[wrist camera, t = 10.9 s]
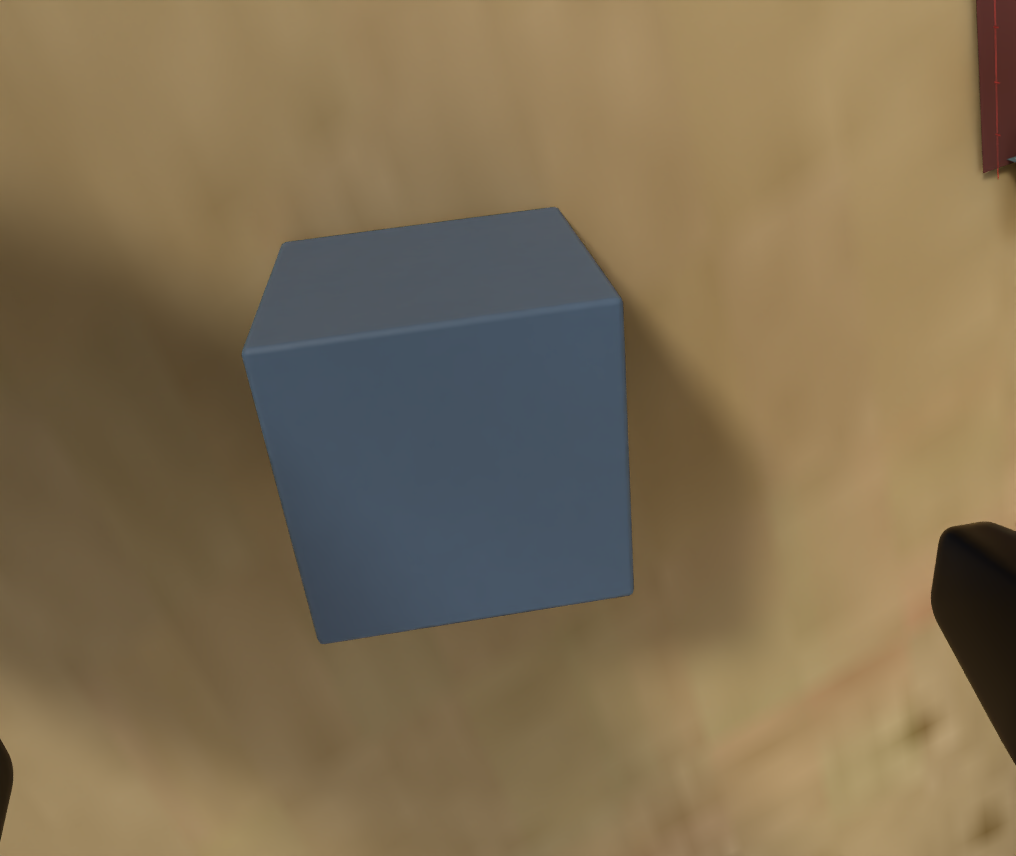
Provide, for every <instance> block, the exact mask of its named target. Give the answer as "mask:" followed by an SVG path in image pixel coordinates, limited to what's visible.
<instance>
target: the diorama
mask: <svg viewBox="0 0 1016 856" xmlns="http://www.w3.org/2000/svg"><path fill="white" fill-rule="evenodd" d="M976 3H977V28H978V53H979V79H980V104H981V130H982V155H983V173H985V172H988V171H991V170H994V169H997V179H999V169H998V168H999V167H1002V166H1005V165H1008V164H1011V163H1014V162H1016V0H976Z"/></svg>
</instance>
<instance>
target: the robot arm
mask: <svg viewBox="0 0 1016 856" xmlns="http://www.w3.org/2000/svg"><path fill="white" fill-rule="evenodd" d="M931 605H932V609H933V613H934V616H935V619H936V621H937V623H938V625H939V627H940V629H941V630H942V632H943V634H944V636H945V638H946V640H947V641H948V643H949V645H950V647H951V649H952V651H953V653H954V654H955V656H956V658H957V660H958V662H959V664H960V665H961V667H962V669H963V671H964V673H965V675H966V677H967V678H968V680H969V682H970V684H971V686H972V688H973V689H974V691H975V693H976V695H977V697H978V699H979V701H980V702H981V704H982V706H983V708H984V710H985V712H986V713H987V715H988V717H989V719H990V721H991V723H992V724H993V726H994V728H995V730H996V732H997V734H998V736H999V737H1000V739H1001V741H1002V743H1003V744H1004V746H1005V748H1006V749H1007V751H1008V753H1009V755H1010V756H1011V758H1012V760H1013V762H1014V763H1015V765H1016V531H1013V530H1011V529H1008V528H1006V527H1003V526H1001V525H998V524H995V523H992V522H977V523H971V524H965V525H959V526H953V527H950V528H948V529H946V530H945V531H944V532H943V533H942V535H941V537H940V540H939V544H938V550H937V557H936V564H935V570H934V577H933V584H932V590H931ZM12 785H13V766H12V762H11V758H10V756H9V754H8V752H7V750H6V748H5V746H4V745H3V743H2V741H1V739H0V840H1V835H2V831H3V826H4V822H5V817H6V813H7V808H8V804H9V799H10V795H11V790H12Z"/></svg>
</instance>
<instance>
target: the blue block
mask: <svg viewBox="0 0 1016 856" xmlns="http://www.w3.org/2000/svg"><path fill="white" fill-rule="evenodd" d="M242 358H243V362H244V366H245V370H246V373H247V377H248V381H249V385H250V388H251V392H252V396H253V399H254V403H255V407H256V411H257V414H258V418H259V422H260V426H261V429H262V433H263V437H264V441H265V444H266V448H267V452H268V456H269V459H270V463H271V467H272V471H273V474H274V478H275V482H276V486H277V489H278V493H279V497H280V501H281V504H282V508H283V512H284V516H285V519H286V523H287V527H288V531H289V534H290V538H291V542H292V546H293V549H294V553H295V557H296V561H297V564H298V568H299V572H300V575H301V579H302V583H303V587H304V590H305V594H306V598H307V602H308V605H309V609H310V613H311V617H312V620H313V624H314V628H315V632H316V635H317V639H318V641H319V642H320V643H321V644H328V643H334V642H341V641H347V640H353V639H359V638H366V637H372V636H378V635H384V634H391V633H397V632H403V631H410V630H416V629H422V628H428V627H435V626H441V625H447V624H453V623H460V622H466V621H472V620H479V619H485V618H491V617H497V616H504V615H510V614H516V613H523V612H529V611H535V610H541V609H548V608H554V607H560V606H566V605H573V604H579V603H585V602H592V601H598V600H604V599H610V598H617V597H623V596H629V595H631V594H632V593H633V590H634V577H633V551H632V524H631V498H630V471H629V444H628V418H627V391H626V365H625V338H624V311H623V301H622V299H621V297H620V296H619V294H618V293H617V291H616V290H615V288H614V287H613V286H612V284H611V283H610V281H609V280H608V278H607V277H606V276H605V274H604V273H603V271H602V270H601V269H600V267H599V266H598V264H597V263H596V261H595V260H594V259H593V257H592V256H591V254H590V253H589V252H588V250H587V249H586V247H585V246H584V244H583V243H582V242H581V240H580V239H579V237H578V236H577V234H576V233H575V232H574V230H573V229H572V227H571V226H570V225H569V223H568V222H567V220H566V219H565V217H564V216H563V215H562V213H561V212H560V210H559V209H558V208H556V207H550V208H543V209H535V210H527V211H520V212H512V213H504V214H497V215H489V216H482V217H474V218H466V219H459V220H451V221H443V222H436V223H428V224H421V225H413V226H405V227H398V228H390V229H382V230H375V231H367V232H359V233H352V234H344V235H337V236H329V237H321V238H314V239H306V240H298V241H291V242H285V243H283V244H282V246H281V248H280V251H279V254H278V256H277V259H276V262H275V264H274V267H273V270H272V272H271V275H270V278H269V280H268V283H267V286H266V288H265V291H264V294H263V296H262V299H261V302H260V304H259V307H258V310H257V312H256V315H255V318H254V320H253V323H252V326H251V328H250V331H249V334H248V336H247V339H246V342H245V344H244V347H243V350H242Z"/></svg>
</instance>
